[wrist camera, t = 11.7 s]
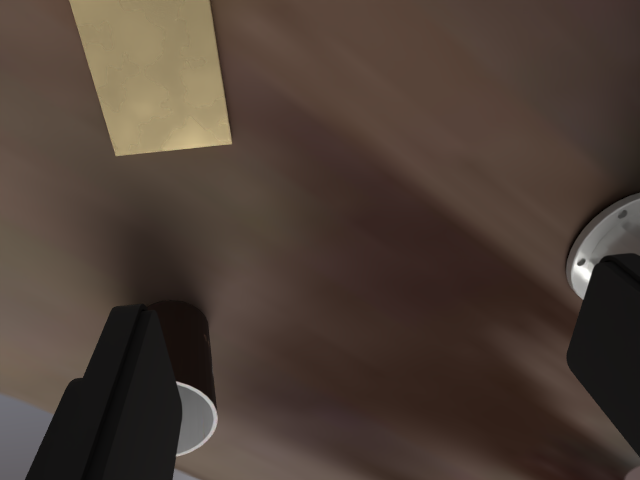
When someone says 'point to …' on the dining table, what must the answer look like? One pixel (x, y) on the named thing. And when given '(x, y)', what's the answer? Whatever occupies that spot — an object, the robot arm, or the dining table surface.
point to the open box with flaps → (155, 72)
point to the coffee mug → (190, 370)
